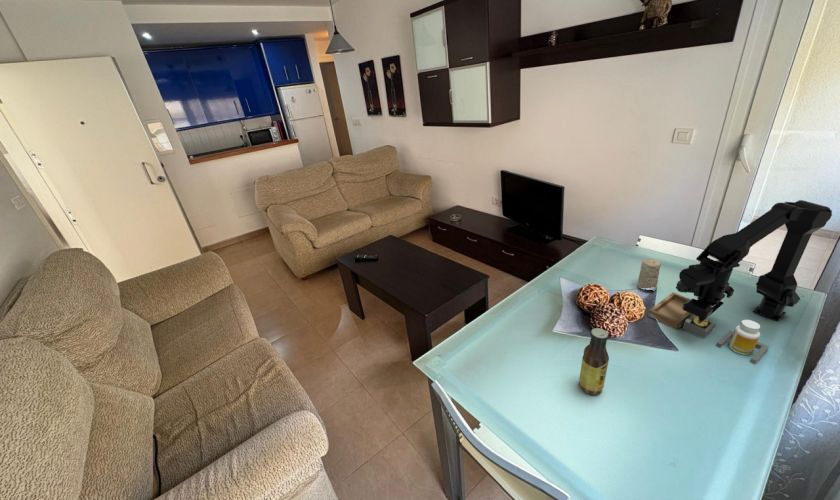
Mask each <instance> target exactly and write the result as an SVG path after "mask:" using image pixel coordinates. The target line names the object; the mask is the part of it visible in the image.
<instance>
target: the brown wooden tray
mask: <svg viewBox="0 0 840 500" xmlns="http://www.w3.org/2000/svg"><path fill="white" fill-rule="evenodd" d="M689 299H690V298H689V297H686V296H684V295H682V294H679V293H677V292H672V293H670V294H668V296H666V297H665V298H664V299H662V300H661V301H660V302H658V303H656V304H655V305H653V306H652V308H650V309H649V310H648V313H652V314H653V315H654V316H655V318H656V319H657V320H658V321H657V322H658V323H661V324H662V325H665V326H667V327H669V328H671V329H674V330H676V331H677V330H678V329H679V328H680V327H681V326H682V325H683V326H684V323H685V321H686V319H689V318H690V317H691V316H692V315H694V314H691V313H689V312H687V311H684V310H683V309H682V308H683V305H684V303H685V302H687V301H688V300H689Z"/></svg>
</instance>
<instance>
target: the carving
mask: <svg viewBox="0 0 840 500" xmlns="http://www.w3.org/2000/svg"><path fill="white" fill-rule="evenodd" d="M661 267H662V263H661V261H659V260H658V259H655V258H645V259H643V260H642V262H641V265H640V271H639V273H638V274H639V275H638V277H637V286H638V288H639V289H640V288H651V287H656V288H658V287H657V286H658V283H659V282H658V281H659V275H660V269H661Z"/></svg>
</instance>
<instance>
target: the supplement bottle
mask: <svg viewBox="0 0 840 500" xmlns="http://www.w3.org/2000/svg"><path fill="white" fill-rule="evenodd" d="M760 328H761V325H760V324H759V323H758V322H756V321H754V320H751V319H744V320H743V319H742V320H741V322H740V324H739V325H736V327H735V329H734V333H733V335H732V337H731V338H730V339H729V342H728V347H729V348H730V350H732V351H733V352H735V353H736V354H740V355H746V356H749V355H752V353H753V352H754V350H755V348H756V347H755V346H756V343H757V342H759V338H760V337H761V333H760Z"/></svg>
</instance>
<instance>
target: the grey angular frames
mask: <svg viewBox="0 0 840 500" xmlns="http://www.w3.org/2000/svg"><path fill="white" fill-rule="evenodd" d="M694 317H697V316H696V315H692V316H691V317H690V318H689V319H686V321H685V323H684V324H683V327H682V329H683V330H685V331H687V332H688V333H691V334H693V335H695V336H697V337H700V338H702V339H706V338H707V337H708V336H709V335H710V334H711V333H712V332H713V331H714V329H715V326H716V323H715V322H714V321H711V320H709V319H707V320H708V324H707V327H706V329H704V328H701V327H699V326H697V325H695V324H692V323H693V320H694ZM733 333H734V331H733V330H731V329H729V330H728V331H727V332H726V333H725V334H724V335H723V336H722V337H721V338H719V340H718V341H717V342H716V344H715V347H716V348H719V349H721V348H722V347H723V346H724V345H725V344H726V343H727V342H728V341H730V340H731V337H732V335H733ZM755 348H756V349H758V350H757V351H756V352H755V353H754V354H753V356H751V358H750V360H749V362H750V363H751V364H754V365H756V364H757V362H759V360H760V359H761V358H762V357H763V355H764V354H766V352H767V351H768V349H769V348H770V346H769V345H766V344H764V343H761V342H759V341H757V343H756V346H755Z"/></svg>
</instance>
